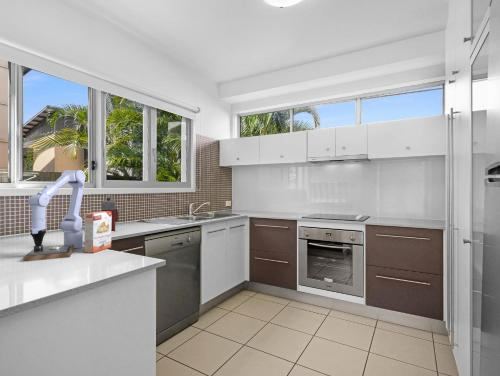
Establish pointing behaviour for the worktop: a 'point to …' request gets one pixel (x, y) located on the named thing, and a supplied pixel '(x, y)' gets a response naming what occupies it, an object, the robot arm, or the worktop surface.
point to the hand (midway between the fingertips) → (38, 246)
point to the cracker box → (97, 231)
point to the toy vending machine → (111, 207)
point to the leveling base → (49, 255)
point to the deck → (49, 250)
